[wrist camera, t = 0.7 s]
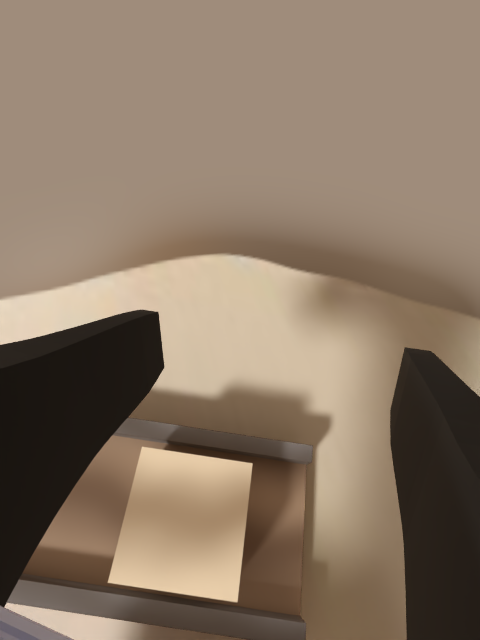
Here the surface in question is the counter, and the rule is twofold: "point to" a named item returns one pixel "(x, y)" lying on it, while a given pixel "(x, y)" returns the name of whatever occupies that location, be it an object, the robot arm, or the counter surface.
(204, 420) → the counter surface
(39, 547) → the guide track
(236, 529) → the beige box
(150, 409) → the counter surface
